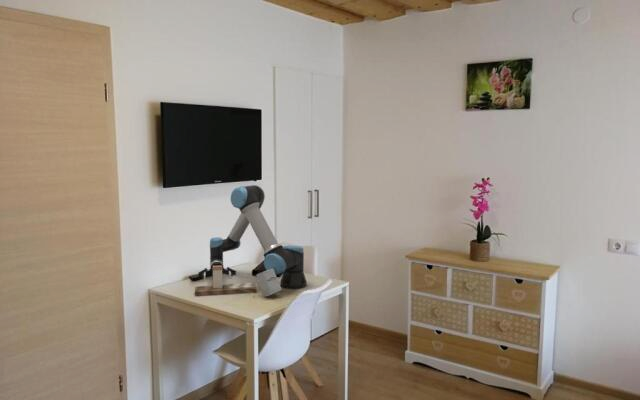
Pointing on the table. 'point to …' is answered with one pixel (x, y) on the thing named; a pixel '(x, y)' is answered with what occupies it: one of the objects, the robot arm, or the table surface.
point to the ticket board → (226, 289)
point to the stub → (217, 276)
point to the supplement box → (268, 282)
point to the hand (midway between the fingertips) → (217, 277)
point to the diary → (261, 270)
